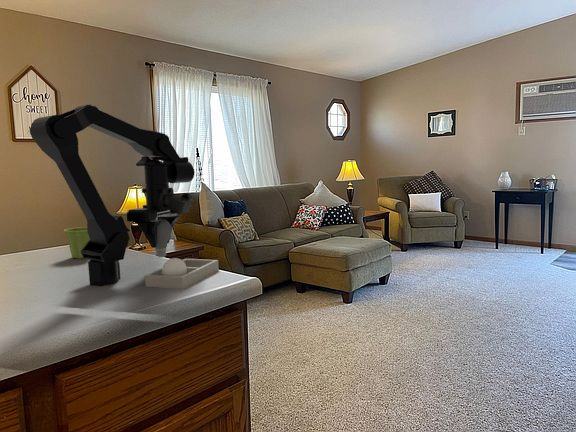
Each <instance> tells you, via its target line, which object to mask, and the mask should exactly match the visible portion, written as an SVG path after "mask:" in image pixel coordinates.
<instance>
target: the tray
mask: <svg viewBox="0 0 576 432" xmlns="http://www.w3.org/2000/svg"><path fill="white" fill-rule="evenodd" d="M181 260H182V261H183V262H184V263H185V264H186V267H187V273H186V274H185V275H183V276H164V275H163V274H162V268H160V269H158V270H155V271H152V272H149V273H147V274H145V275H144V280H145V281H144V283H145V287H146V288H148V287H149V288H150V287H151V288H161V289H163V288H164V289H165V288H166V289H177V290H184V289H186V288H187V287H189V286H191V285H193V284H195V283H197V282H199V281H200V280H202V279H204V278H206V277H208V276H210V275H211V274H213V273H216V272H217V271H219V268H220V267H219V259H202V258H201V259H200V258H199V259H197V258H184V259H181Z"/></svg>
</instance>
